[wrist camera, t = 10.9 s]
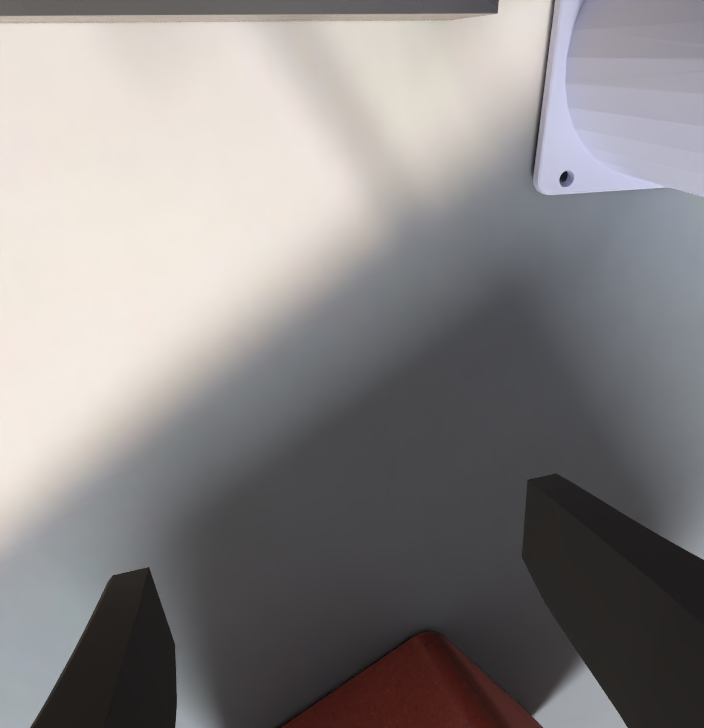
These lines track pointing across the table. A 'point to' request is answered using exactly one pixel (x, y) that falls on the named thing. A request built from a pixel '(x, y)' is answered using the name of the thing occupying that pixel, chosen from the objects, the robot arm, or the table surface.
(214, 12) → the metal square hole block
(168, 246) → the table surface
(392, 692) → the plant pot
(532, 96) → the table surface
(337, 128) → the table surface
